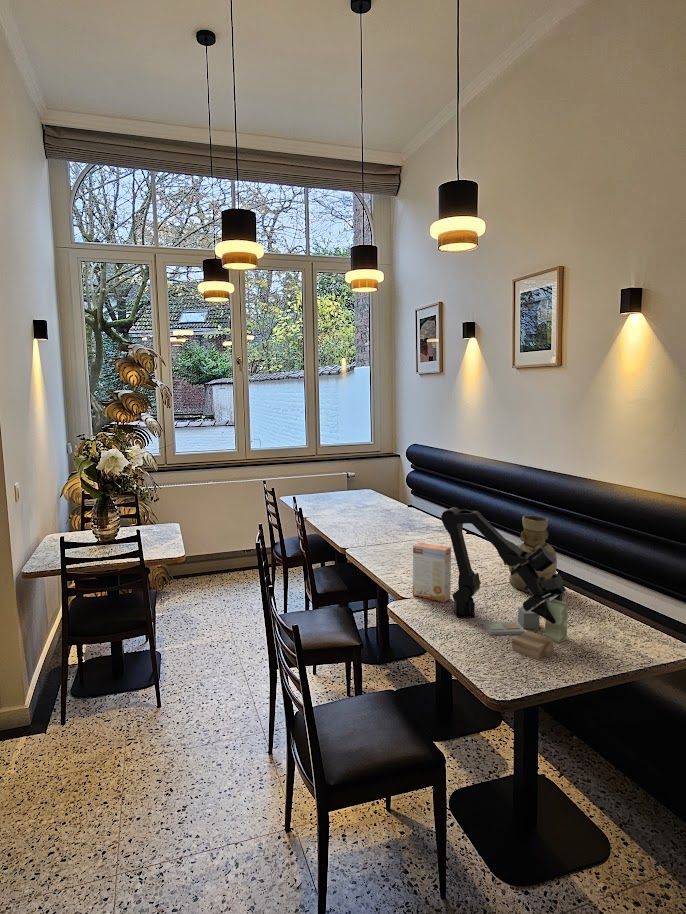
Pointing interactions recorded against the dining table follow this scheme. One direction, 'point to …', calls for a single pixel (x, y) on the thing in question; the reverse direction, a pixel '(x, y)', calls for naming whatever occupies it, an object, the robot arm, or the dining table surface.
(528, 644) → the walnut base block
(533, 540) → the ceramic vessel
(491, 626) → the board
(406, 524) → the dining table surface
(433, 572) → the cracker box
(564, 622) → the sage pillar
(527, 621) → the charcoal cube
